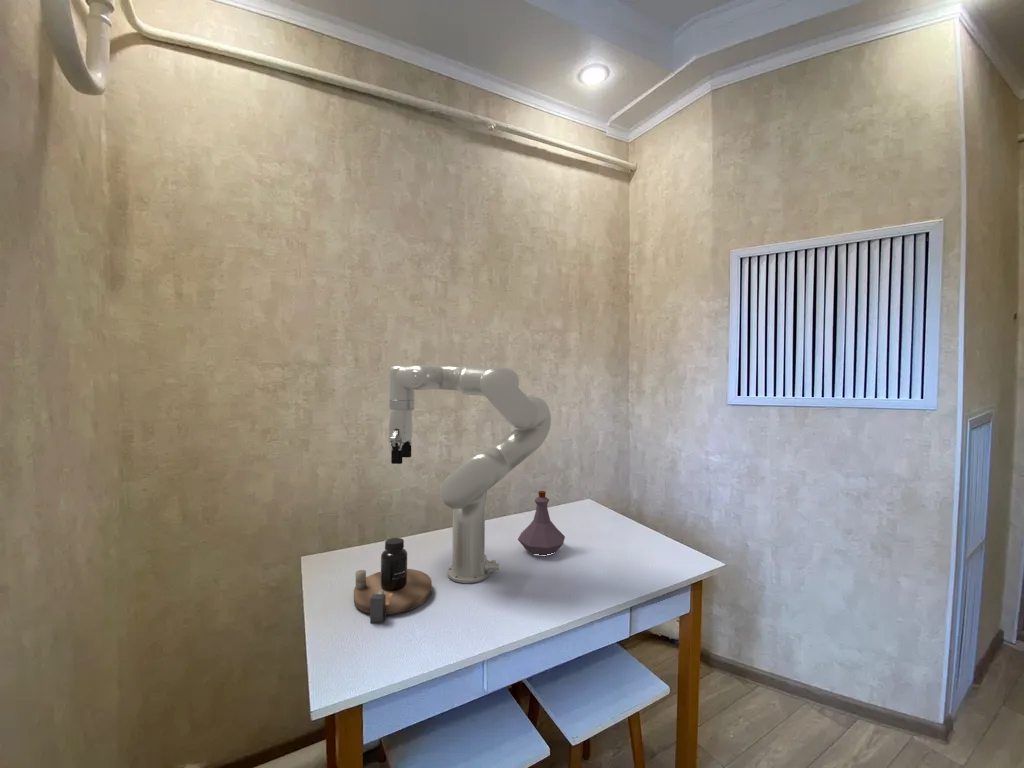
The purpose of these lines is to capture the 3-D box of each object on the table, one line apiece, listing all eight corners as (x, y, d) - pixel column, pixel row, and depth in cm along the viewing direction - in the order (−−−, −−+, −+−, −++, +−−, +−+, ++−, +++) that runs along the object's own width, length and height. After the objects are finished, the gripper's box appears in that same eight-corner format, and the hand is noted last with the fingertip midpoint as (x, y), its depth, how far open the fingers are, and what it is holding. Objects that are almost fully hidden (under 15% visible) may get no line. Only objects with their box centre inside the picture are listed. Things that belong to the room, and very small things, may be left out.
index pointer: (387, 615, 105) (387, 591, 105) (382, 623, 101) (382, 598, 101) (375, 614, 105) (375, 590, 105) (370, 623, 102) (370, 598, 101)
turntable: (406, 568, 128) (406, 549, 128) (446, 593, 114) (446, 571, 114) (340, 592, 114) (340, 570, 114) (377, 624, 100) (377, 598, 100)
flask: (533, 537, 155) (534, 483, 155) (574, 548, 146) (575, 490, 146) (507, 553, 142) (507, 493, 141) (550, 566, 133) (551, 502, 132)
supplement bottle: (400, 593, 110) (400, 547, 110) (375, 590, 111) (375, 544, 111) (411, 580, 117) (411, 537, 117) (388, 578, 118) (388, 535, 118)
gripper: (398, 403, 141) (398, 454, 142) (380, 407, 124) (380, 466, 125) (420, 403, 141) (420, 455, 142) (405, 408, 124) (405, 466, 124)
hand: (401, 460), depth 133 cm, fingers open, 9 cm apart
